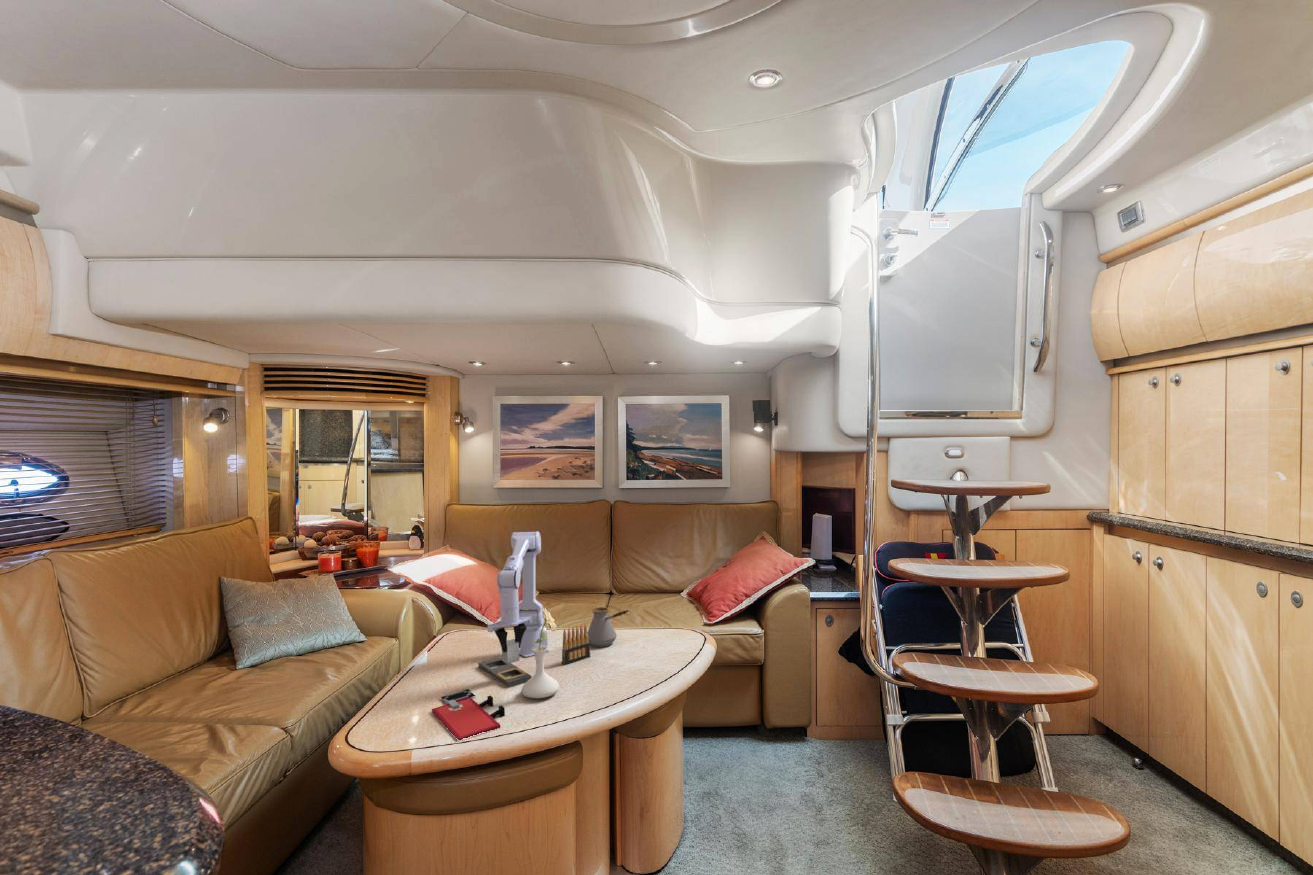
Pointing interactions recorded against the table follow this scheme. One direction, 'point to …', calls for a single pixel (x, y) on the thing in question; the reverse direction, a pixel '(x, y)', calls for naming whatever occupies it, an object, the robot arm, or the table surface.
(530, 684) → the flower in vase
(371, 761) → the table surface
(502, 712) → the red board with handle
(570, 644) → the ammunition clip
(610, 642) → the coffee pot
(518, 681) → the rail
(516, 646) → the grey rectangular block
